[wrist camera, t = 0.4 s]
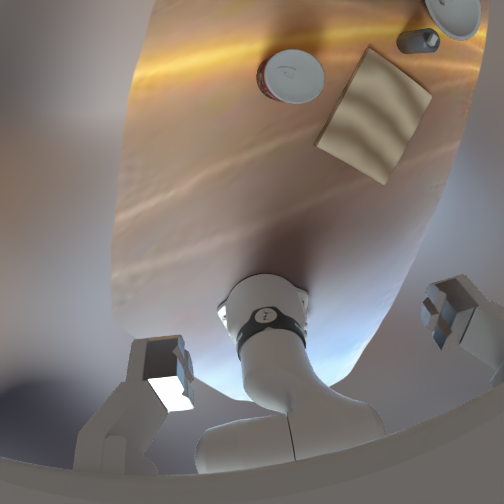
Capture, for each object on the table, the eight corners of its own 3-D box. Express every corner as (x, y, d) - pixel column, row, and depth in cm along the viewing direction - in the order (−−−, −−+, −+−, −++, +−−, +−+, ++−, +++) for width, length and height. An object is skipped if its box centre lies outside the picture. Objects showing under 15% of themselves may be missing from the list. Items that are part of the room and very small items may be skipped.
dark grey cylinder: (417, 40, 43) (446, 37, 35) (408, 57, 45) (437, 56, 37) (402, 28, 42) (430, 23, 34) (393, 46, 44) (421, 42, 36)
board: (380, 183, 56) (384, 185, 55) (314, 144, 52) (316, 146, 51) (428, 95, 48) (432, 96, 47) (366, 48, 44) (369, 48, 43)
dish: (410, -47, 34) (424, -53, 29) (466, -16, 36) (481, -19, 31) (405, 25, 42) (420, 22, 37) (462, 52, 44) (478, 53, 39)
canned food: (255, 55, 44) (264, 46, 34) (305, 58, 45) (326, 51, 35) (255, 100, 48) (264, 103, 38) (304, 102, 48) (324, 106, 39)
